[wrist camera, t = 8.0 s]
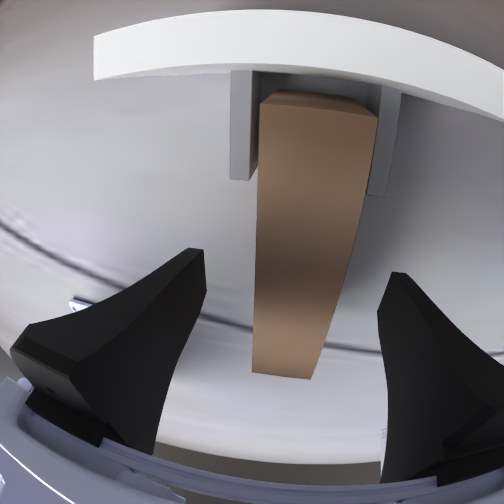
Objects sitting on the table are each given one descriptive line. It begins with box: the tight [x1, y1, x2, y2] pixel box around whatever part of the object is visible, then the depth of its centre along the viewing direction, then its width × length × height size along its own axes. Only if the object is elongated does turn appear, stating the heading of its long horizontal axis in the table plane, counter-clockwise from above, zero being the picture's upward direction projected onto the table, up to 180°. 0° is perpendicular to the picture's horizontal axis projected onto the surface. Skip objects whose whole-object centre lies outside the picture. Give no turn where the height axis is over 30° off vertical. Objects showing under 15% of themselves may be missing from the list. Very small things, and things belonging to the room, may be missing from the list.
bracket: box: [94, 10, 504, 198], centre depth 9 cm, size 6×13×7 cm, turn 88°
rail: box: [252, 89, 378, 380], centre depth 13 cm, size 13×3×6 cm, turn 178°
